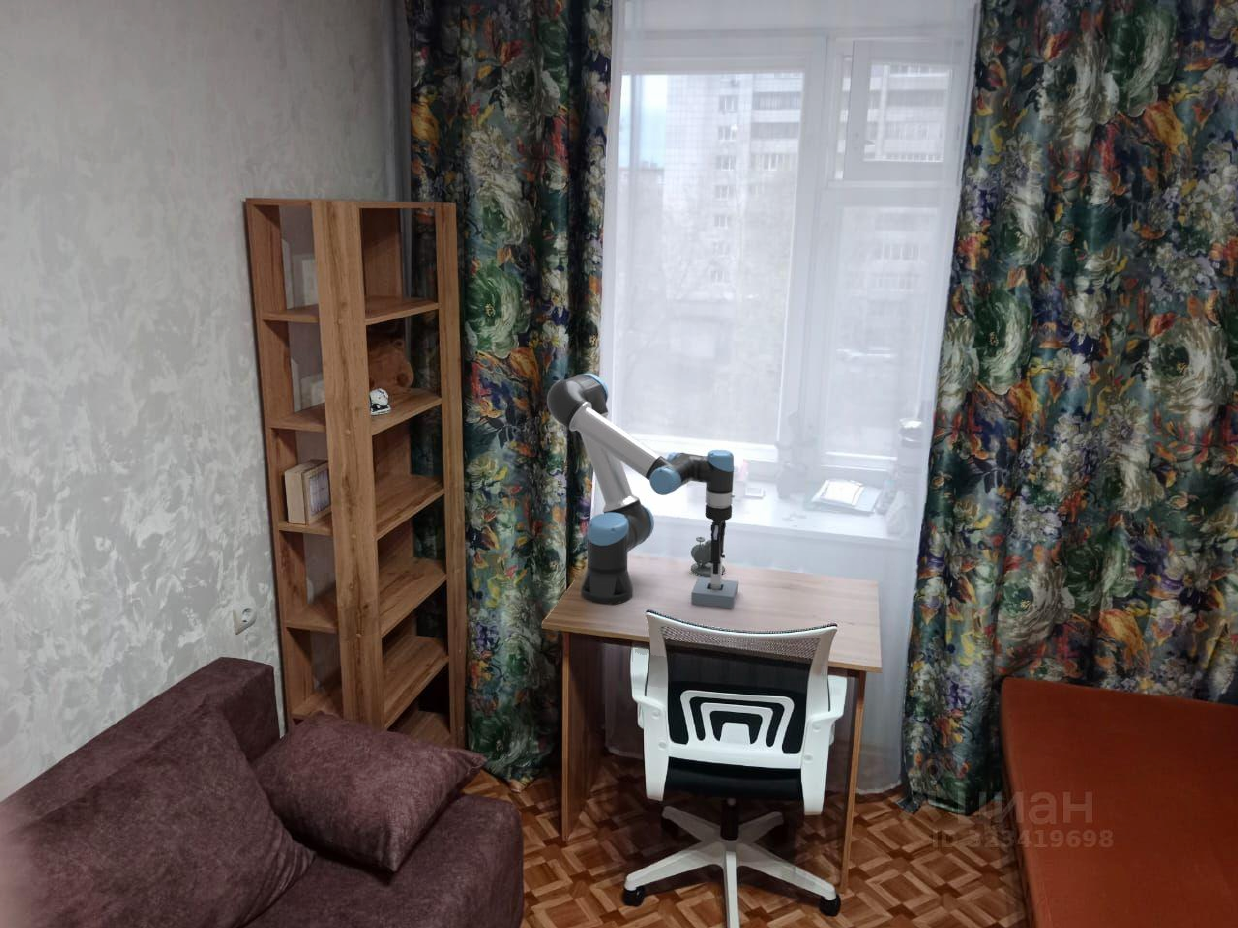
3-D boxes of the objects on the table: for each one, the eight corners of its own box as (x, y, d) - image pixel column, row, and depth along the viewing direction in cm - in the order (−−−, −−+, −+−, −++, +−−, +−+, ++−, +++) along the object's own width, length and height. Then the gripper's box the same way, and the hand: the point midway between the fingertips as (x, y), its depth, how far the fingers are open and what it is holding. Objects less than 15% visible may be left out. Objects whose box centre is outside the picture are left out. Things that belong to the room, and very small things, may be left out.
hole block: (691, 603, 265) (691, 592, 264) (697, 587, 276) (698, 576, 276) (732, 608, 263) (733, 596, 262) (737, 591, 274) (738, 580, 273)
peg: (709, 591, 268) (711, 559, 265) (711, 587, 271) (712, 555, 268) (720, 592, 267) (721, 560, 264) (721, 588, 270) (722, 556, 267)
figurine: (729, 576, 286) (731, 539, 282) (696, 578, 283) (697, 542, 280) (718, 563, 296) (719, 528, 292) (686, 565, 293) (687, 530, 290)
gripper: (728, 513, 254) (725, 592, 260) (735, 497, 268) (732, 572, 274) (701, 511, 255) (699, 590, 262) (709, 495, 270) (707, 570, 276)
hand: (716, 581), depth 268 cm, fingers closed on peg, 2 cm apart
